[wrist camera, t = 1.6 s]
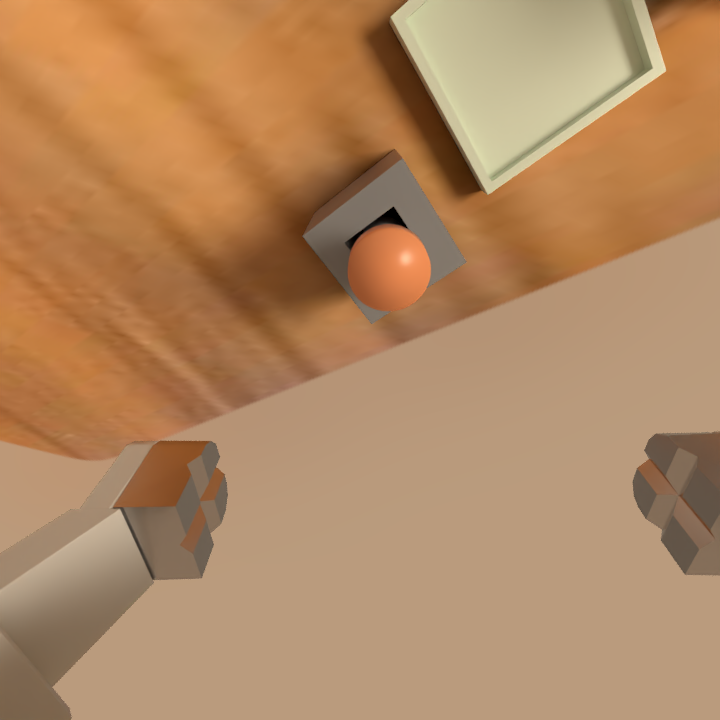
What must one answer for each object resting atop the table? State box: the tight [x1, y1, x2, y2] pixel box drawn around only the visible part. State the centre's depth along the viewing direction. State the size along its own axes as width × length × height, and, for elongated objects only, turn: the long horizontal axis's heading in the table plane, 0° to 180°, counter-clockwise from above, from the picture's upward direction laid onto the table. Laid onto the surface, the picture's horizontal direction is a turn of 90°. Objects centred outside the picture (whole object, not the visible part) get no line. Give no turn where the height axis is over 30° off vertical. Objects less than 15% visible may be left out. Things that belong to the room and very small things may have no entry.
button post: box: [303, 149, 466, 324], centre depth 24 cm, size 6×6×6 cm
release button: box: [348, 217, 431, 311], centre depth 21 cm, size 4×4×6 cm
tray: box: [389, 0, 666, 194], centre depth 21 cm, size 10×10×2 cm
